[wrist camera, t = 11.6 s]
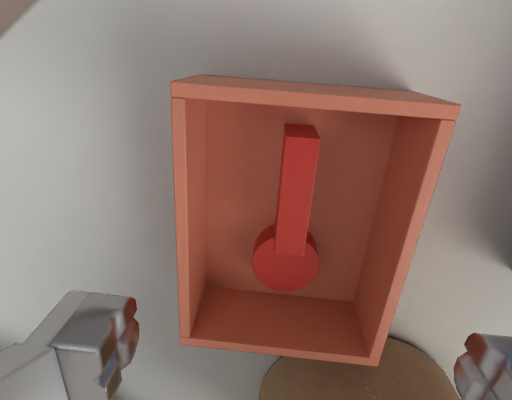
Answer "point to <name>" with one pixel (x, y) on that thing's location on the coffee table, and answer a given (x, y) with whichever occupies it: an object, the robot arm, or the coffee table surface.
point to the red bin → (321, 213)
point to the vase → (360, 378)
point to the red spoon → (291, 217)
